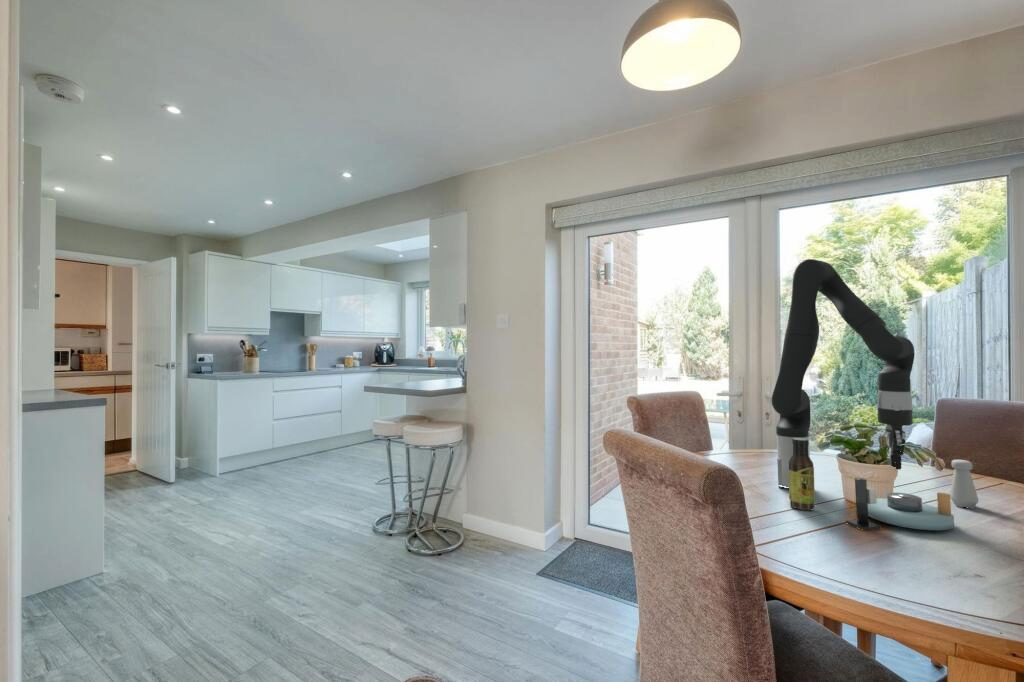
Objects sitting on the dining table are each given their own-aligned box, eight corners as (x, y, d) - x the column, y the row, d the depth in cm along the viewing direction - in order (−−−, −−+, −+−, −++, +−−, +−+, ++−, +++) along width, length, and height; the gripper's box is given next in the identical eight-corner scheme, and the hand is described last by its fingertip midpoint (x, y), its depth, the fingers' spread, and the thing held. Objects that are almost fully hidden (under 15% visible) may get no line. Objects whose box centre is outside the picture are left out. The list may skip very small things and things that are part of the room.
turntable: (868, 522, 115) (866, 494, 116) (858, 502, 131) (857, 477, 131) (965, 535, 106) (963, 505, 106) (942, 511, 121) (941, 485, 122)
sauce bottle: (805, 512, 127) (802, 441, 127) (784, 506, 132) (781, 438, 133) (820, 509, 129) (817, 439, 130) (799, 503, 135) (796, 436, 135)
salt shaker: (966, 503, 131) (963, 458, 131) (985, 509, 125) (982, 462, 126) (944, 502, 132) (942, 458, 132) (962, 509, 126) (959, 462, 126)
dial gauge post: (863, 530, 113) (861, 482, 114) (845, 523, 118) (843, 477, 119) (885, 528, 114) (882, 480, 115) (866, 521, 119) (864, 475, 120)
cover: (890, 510, 118) (890, 497, 118) (884, 502, 124) (884, 490, 124) (926, 514, 115) (925, 501, 115) (918, 505, 121) (917, 493, 121)
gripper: (874, 403, 135) (875, 461, 135) (881, 408, 124) (882, 472, 123) (907, 405, 131) (908, 465, 130) (917, 410, 120) (918, 476, 119)
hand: (895, 468), depth 127 cm, fingers closed
